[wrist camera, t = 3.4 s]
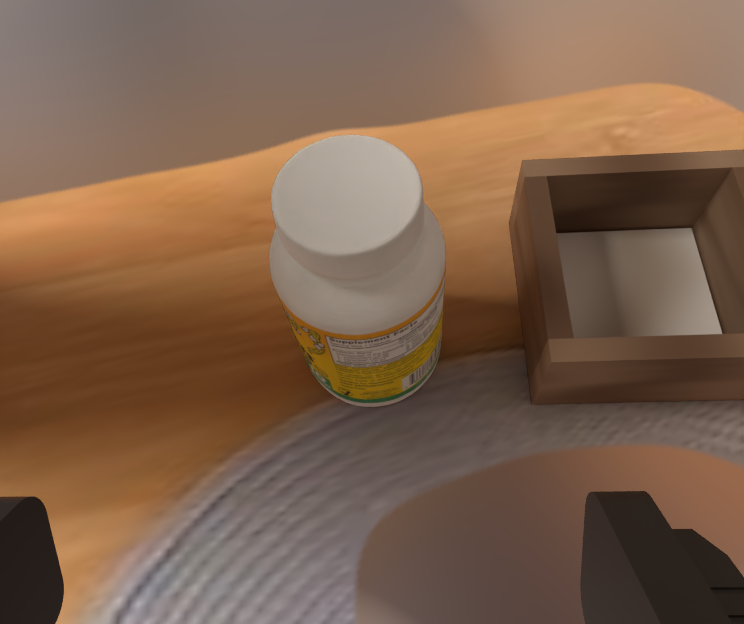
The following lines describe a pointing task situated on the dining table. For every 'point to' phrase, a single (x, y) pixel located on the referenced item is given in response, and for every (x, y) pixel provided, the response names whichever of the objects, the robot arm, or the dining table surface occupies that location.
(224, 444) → the dining table surface
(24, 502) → the robot arm
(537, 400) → the holder
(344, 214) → the supplement bottle
